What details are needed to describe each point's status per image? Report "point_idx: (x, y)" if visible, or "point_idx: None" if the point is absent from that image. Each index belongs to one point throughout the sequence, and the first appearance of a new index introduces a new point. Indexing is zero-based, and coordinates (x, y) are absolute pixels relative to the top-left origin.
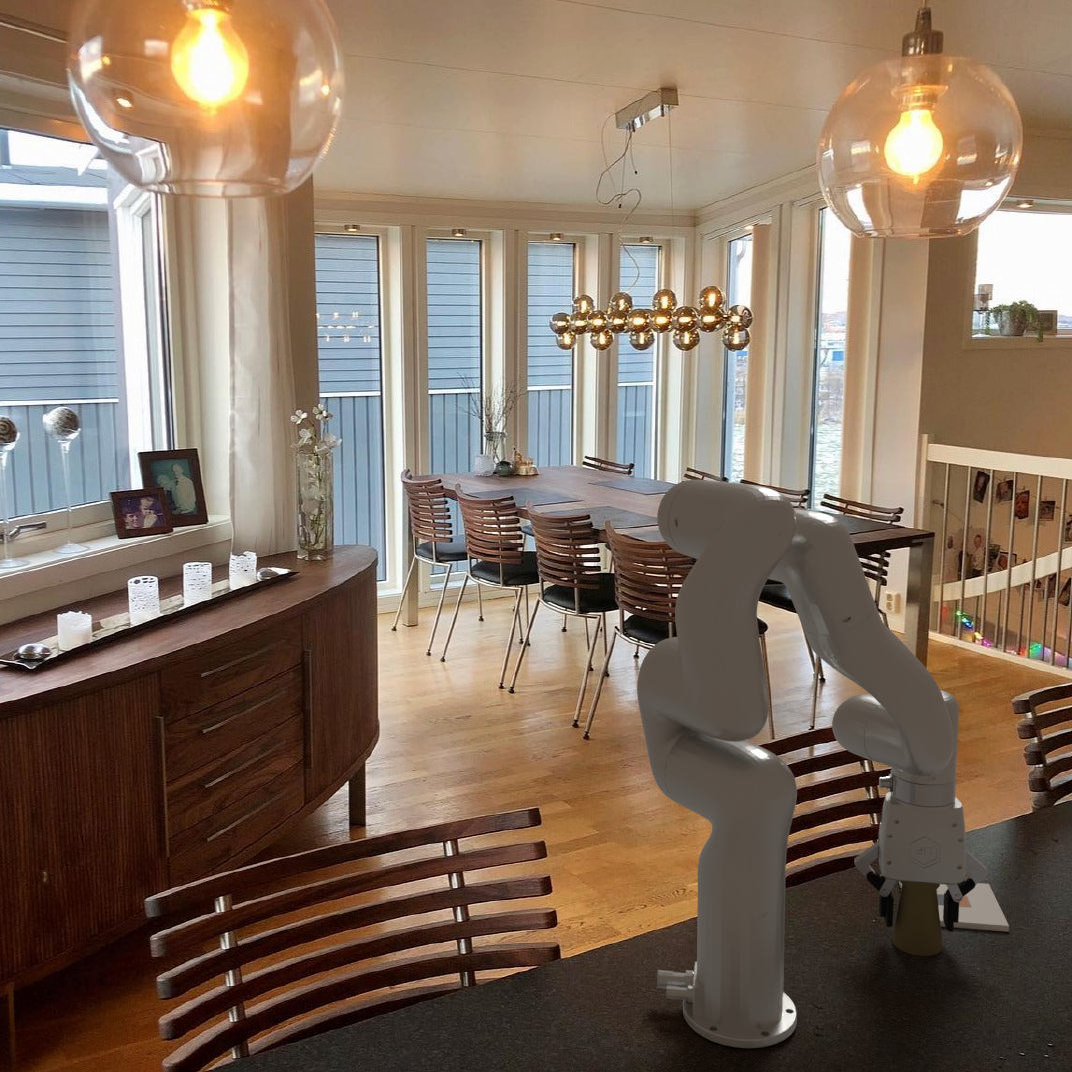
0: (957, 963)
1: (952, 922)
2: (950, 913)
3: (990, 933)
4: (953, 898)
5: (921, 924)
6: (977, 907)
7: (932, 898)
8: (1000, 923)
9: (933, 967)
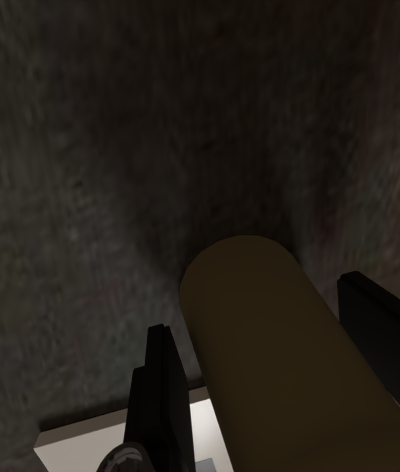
0: (131, 238)
1: (150, 349)
2: (158, 376)
3: (79, 409)
4: (144, 456)
5: (258, 291)
6: None
7: (251, 413)
8: (55, 449)
9: (192, 187)
